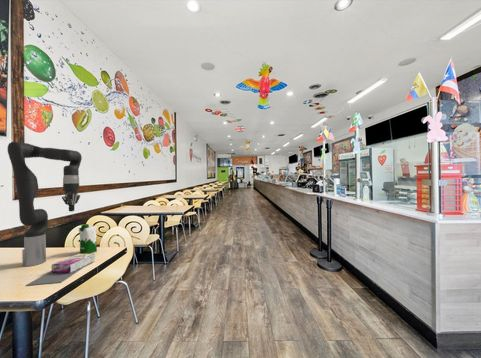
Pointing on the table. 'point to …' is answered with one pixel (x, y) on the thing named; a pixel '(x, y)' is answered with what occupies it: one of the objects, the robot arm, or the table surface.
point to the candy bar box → (73, 263)
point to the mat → (52, 278)
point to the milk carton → (87, 239)
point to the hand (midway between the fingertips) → (71, 211)
